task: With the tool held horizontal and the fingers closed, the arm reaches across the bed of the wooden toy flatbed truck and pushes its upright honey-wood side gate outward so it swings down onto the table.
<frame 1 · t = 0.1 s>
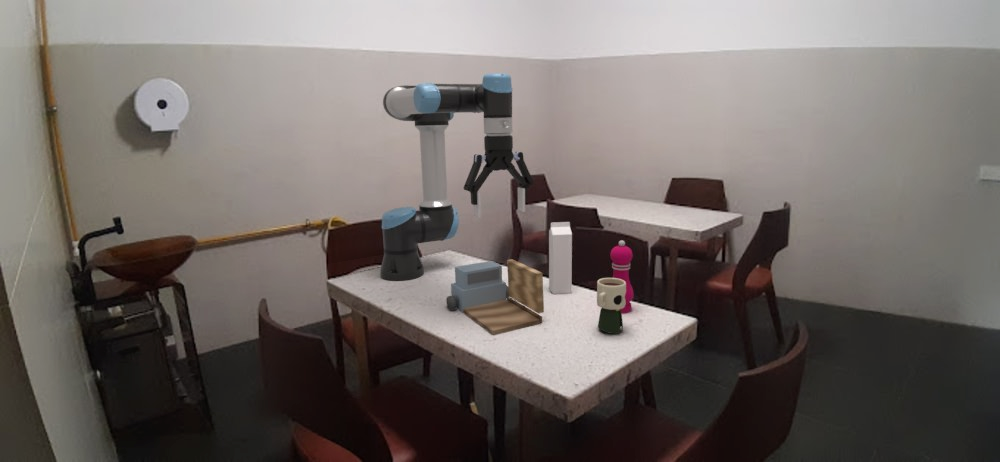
hand: (500, 213, 140), 28 cm above the table, tool pointing down, fingers open, 13 cm apart
flatbed: (500, 318, 140), on the table
side gate: (524, 285, 142), point 8 cm above the table, hinge at -2.0°
pepper mill: (619, 309, 145), on the table
milk: (560, 291, 162), on the table
cab: (479, 303, 152), on the table
character mug: (610, 331, 131), on the table
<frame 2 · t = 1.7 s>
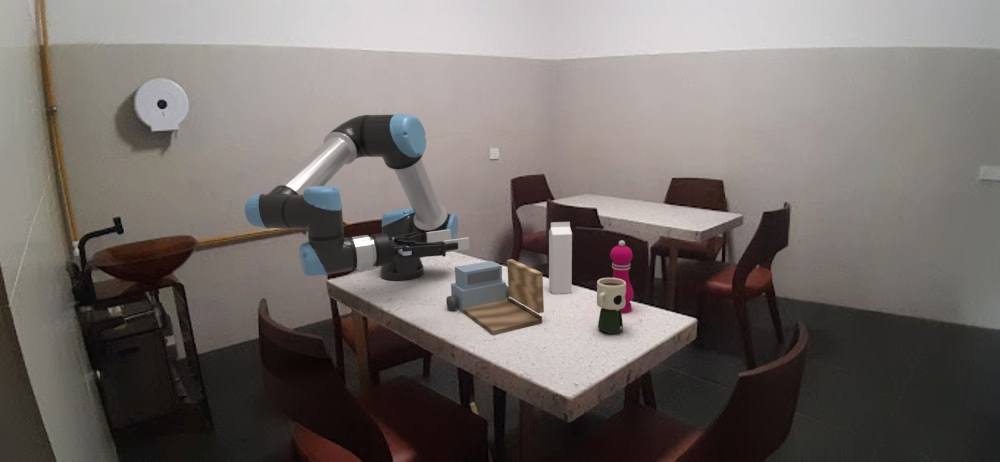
hand: (459, 238, 129), 24 cm above the table, tool horizontal, fingers open, 10 cm apart
nothing on the table moved.
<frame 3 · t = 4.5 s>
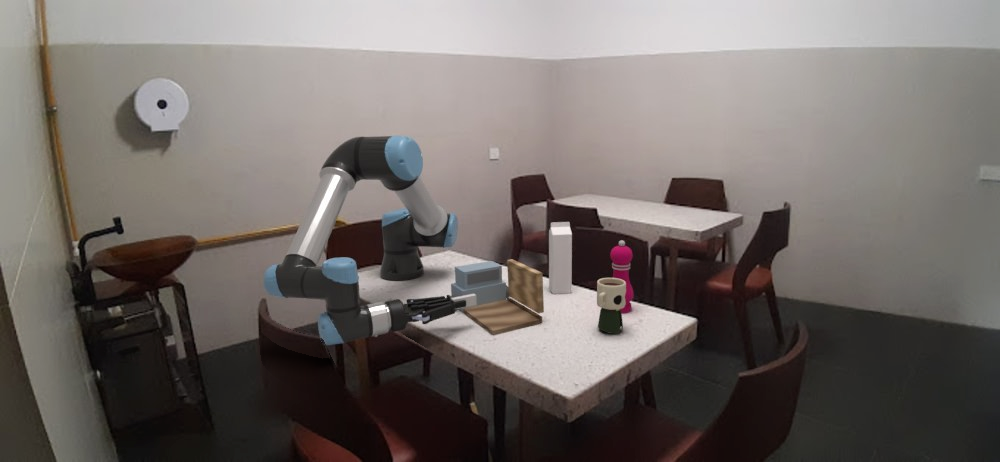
hand: (475, 299, 134), 7 cm above the table, tool horizontal, fingers closed
nothing on the table moved.
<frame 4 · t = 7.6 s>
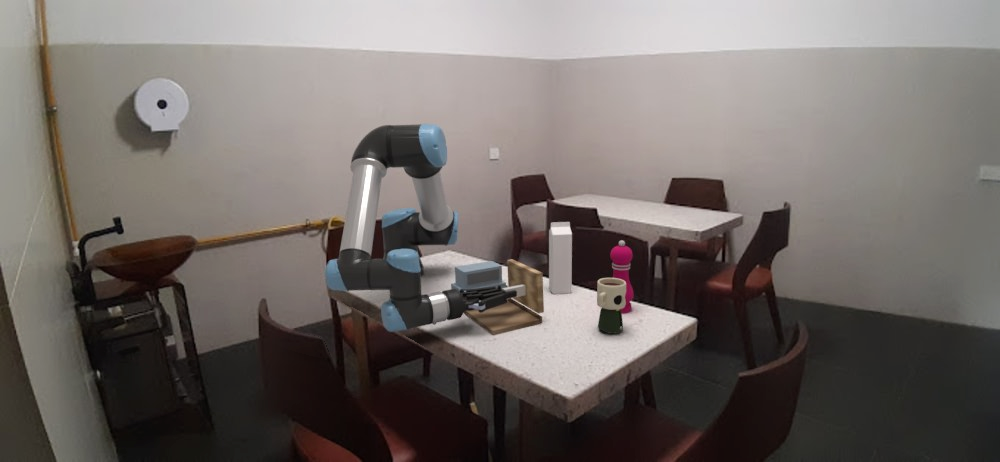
hand: (524, 289, 140), 7 cm above the table, tool horizontal, fingers closed
side gate: (524, 285, 142), point 8 cm above the table, hinge at -1.8°, touching gripper
everything else where it was.
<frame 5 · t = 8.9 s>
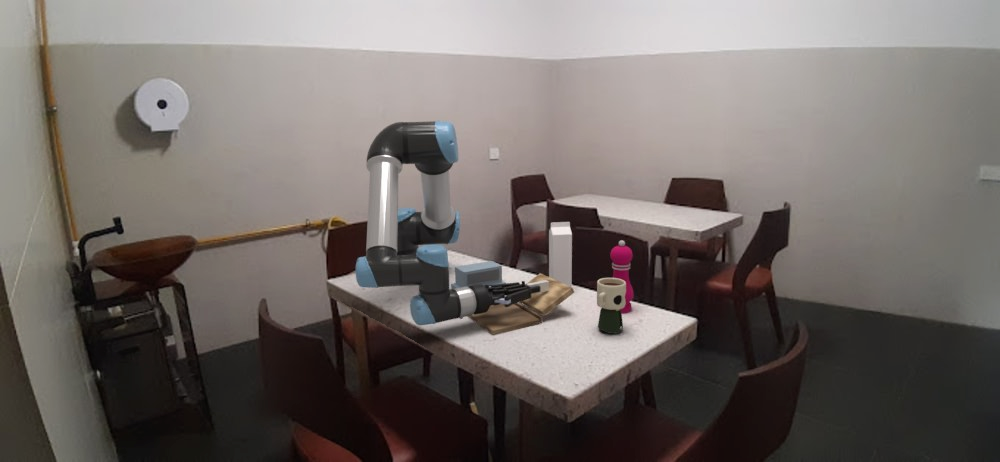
hand: (547, 285, 143), 8 cm above the table, tool horizontal, fingers closed
side gate: (542, 293, 145), point 5 cm above the table, hinge at 64.2°, touching gripper
everything else where it was.
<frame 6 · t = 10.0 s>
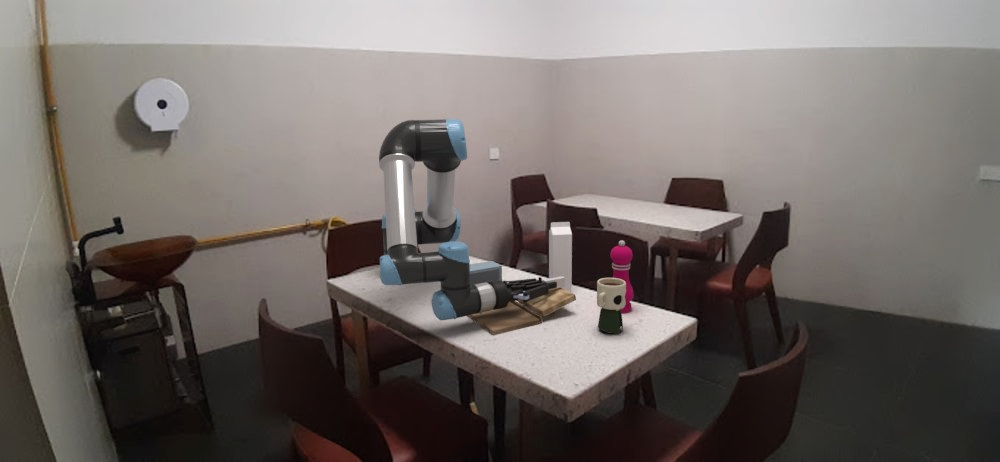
hand: (563, 281, 147), 7 cm above the table, tool horizontal, fingers closed
side gate: (543, 296, 146), point 4 cm above the table, hinge at 75.7°
everything else where it was.
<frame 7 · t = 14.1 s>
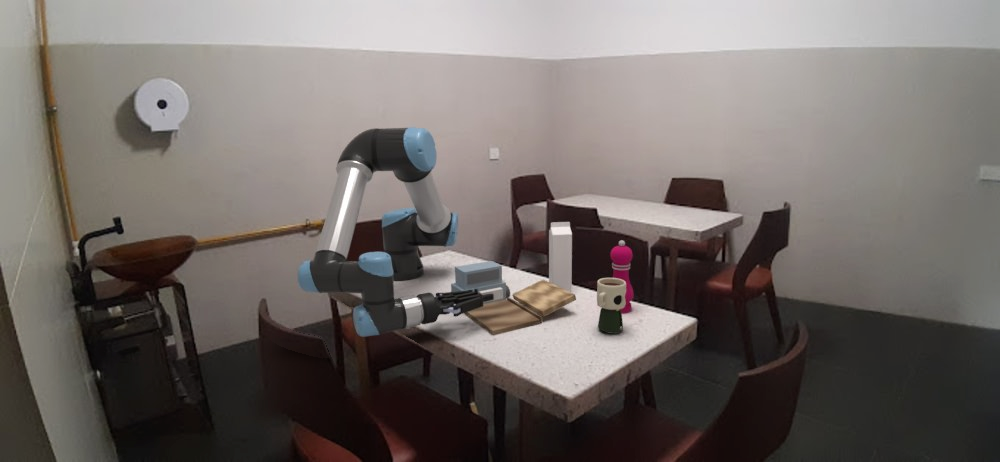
hand: (501, 292, 138), 8 cm above the table, tool horizontal, fingers closed
nothing on the table moved.
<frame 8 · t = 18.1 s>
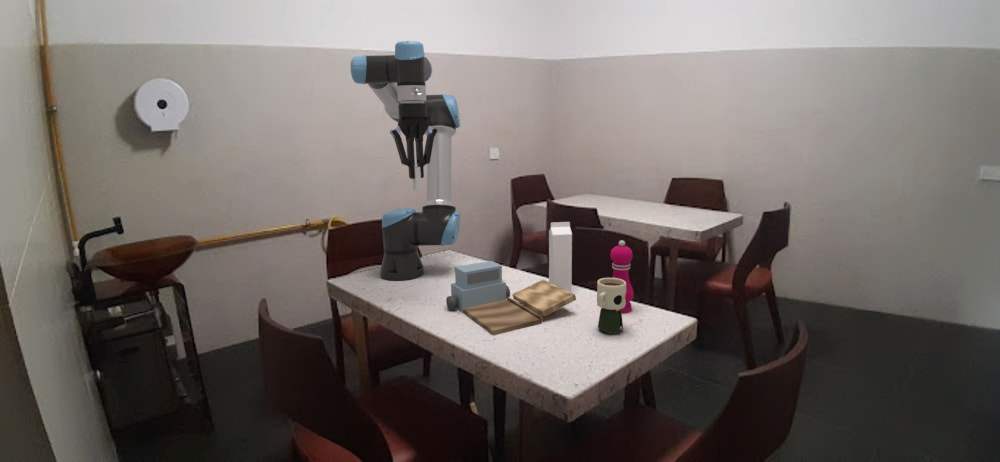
hand: (417, 190, 142), 34 cm above the table, tool pointing down, fingers closed
nothing on the table moved.
at the end: side gate at +76° (first picture: -2°) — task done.
